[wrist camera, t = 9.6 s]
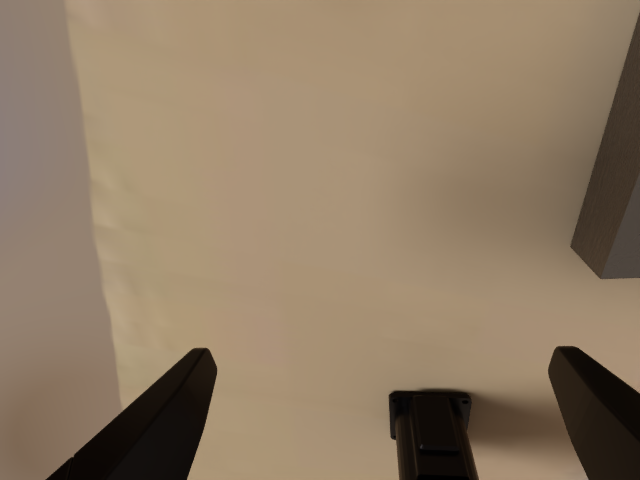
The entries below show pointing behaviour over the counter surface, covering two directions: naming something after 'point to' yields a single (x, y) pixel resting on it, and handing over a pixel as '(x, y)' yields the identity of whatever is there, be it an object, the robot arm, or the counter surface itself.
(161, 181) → the counter surface
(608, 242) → the rail
